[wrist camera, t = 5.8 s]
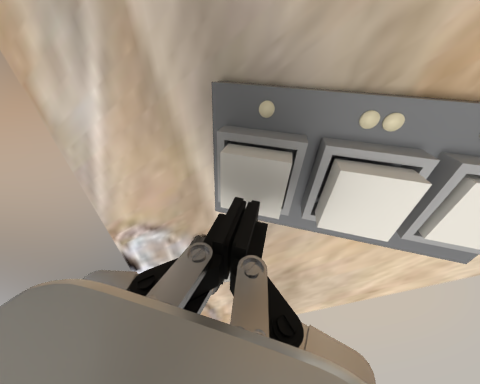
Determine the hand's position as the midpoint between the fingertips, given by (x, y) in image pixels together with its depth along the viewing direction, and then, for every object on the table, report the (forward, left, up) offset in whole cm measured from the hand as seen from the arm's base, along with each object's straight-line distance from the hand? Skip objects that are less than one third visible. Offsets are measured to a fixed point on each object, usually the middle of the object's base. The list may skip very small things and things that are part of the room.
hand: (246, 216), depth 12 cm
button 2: (-1, +8, -5) cm, 9 cm away
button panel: (-1, +8, -8) cm, 11 cm away
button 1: (-1, 0, -5) cm, 5 cm away
